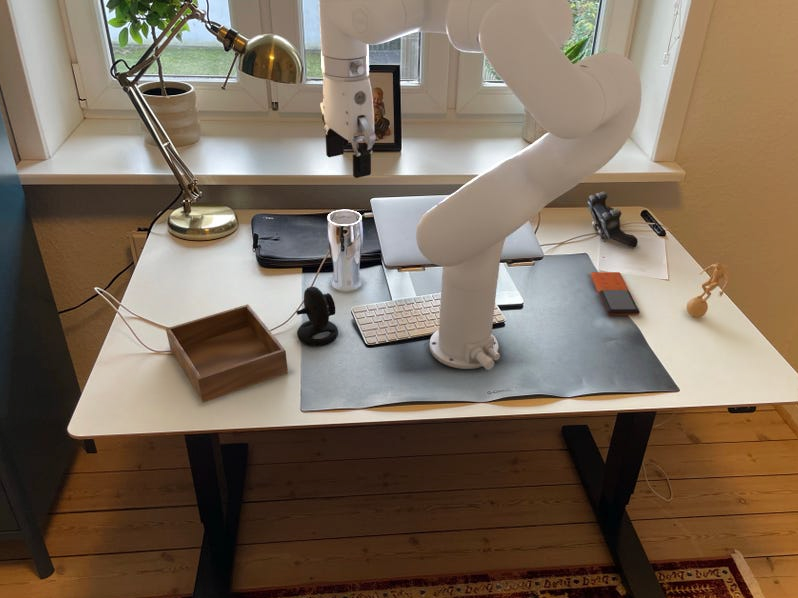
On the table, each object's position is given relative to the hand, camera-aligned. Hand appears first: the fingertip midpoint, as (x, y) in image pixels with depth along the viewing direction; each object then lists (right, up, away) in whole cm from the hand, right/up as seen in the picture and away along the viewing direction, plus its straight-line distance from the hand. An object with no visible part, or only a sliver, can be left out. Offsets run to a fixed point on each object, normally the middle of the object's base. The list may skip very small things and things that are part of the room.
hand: (348, 165), depth 130 cm
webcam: (-7, -30, +8) cm, 31 cm away
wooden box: (-21, -34, +1) cm, 40 cm away
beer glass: (-3, -19, +22) cm, 29 cm away
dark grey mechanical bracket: (+56, -5, +44) cm, 71 cm away
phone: (+52, -21, +23) cm, 61 cm away
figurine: (+68, -25, +19) cm, 75 cm away
